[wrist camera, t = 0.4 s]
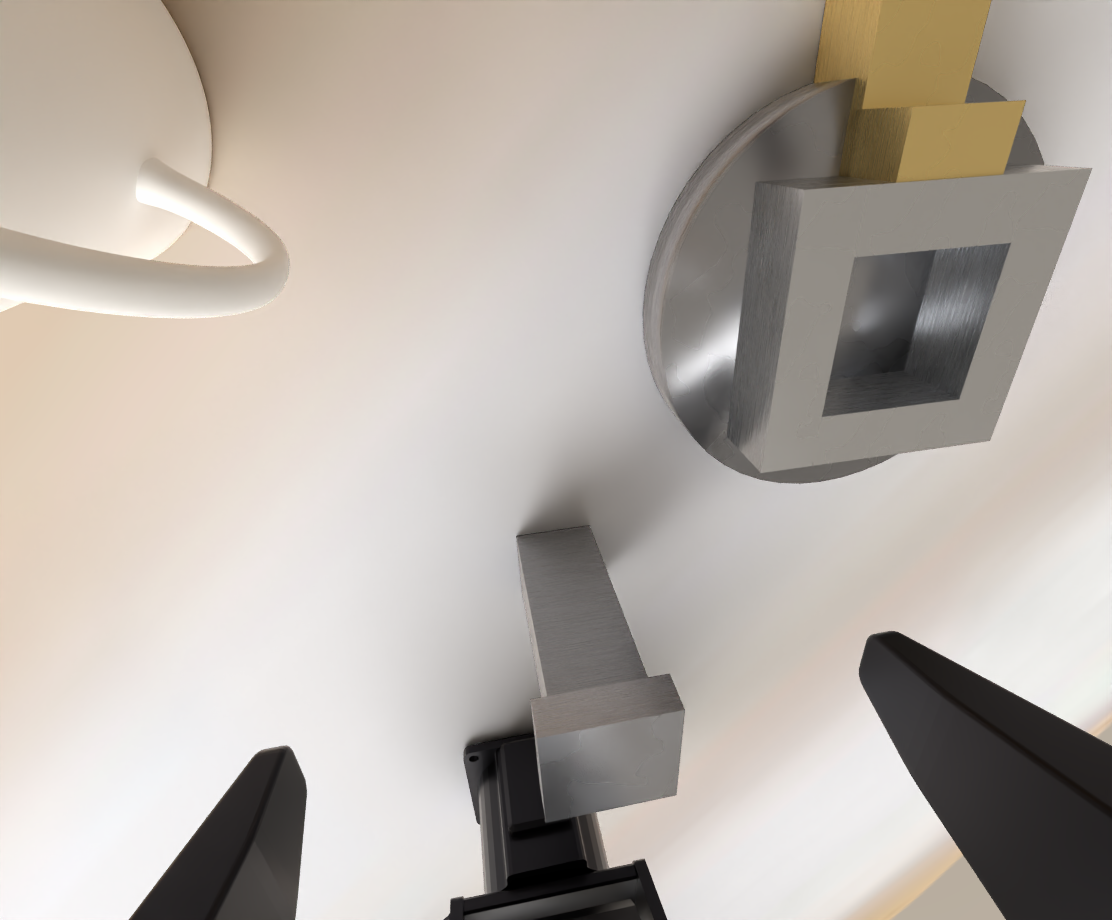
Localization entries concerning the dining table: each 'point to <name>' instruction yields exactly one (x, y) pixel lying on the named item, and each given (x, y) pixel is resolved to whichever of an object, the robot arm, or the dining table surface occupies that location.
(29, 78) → the mug
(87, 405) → the dining table surface
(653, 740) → the wedge pin
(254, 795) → the robot arm
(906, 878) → the dining table surface
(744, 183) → the rosette
